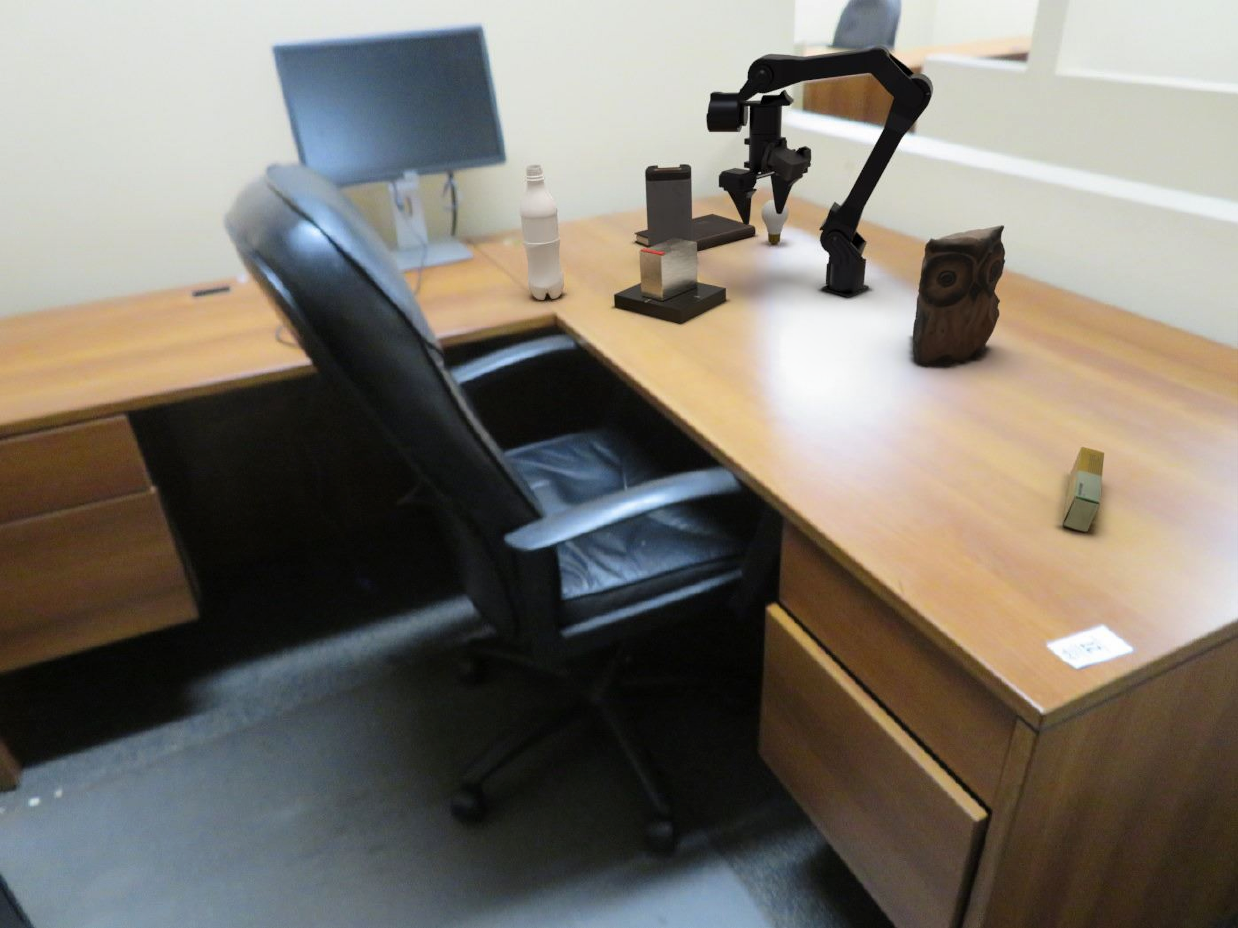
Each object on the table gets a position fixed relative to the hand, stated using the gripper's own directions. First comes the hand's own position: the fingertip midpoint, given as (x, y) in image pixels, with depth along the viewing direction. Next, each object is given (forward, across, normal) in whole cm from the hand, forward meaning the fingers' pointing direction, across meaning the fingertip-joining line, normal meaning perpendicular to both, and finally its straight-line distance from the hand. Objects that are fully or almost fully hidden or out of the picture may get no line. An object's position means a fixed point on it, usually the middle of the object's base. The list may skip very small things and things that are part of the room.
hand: (762, 219), depth 162 cm
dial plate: (+13, -19, +6) cm, 24 cm away
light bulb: (+13, +22, +16) cm, 30 cm away
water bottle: (+13, -32, +28) cm, 44 cm away
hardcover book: (+13, +14, +33) cm, 38 cm away
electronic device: (+13, -2, +24) cm, 27 cm away
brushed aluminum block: (+10, -19, +6) cm, 22 cm away
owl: (+13, -5, -43) cm, 45 cm away
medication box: (+13, -33, -78) cm, 86 cm away
